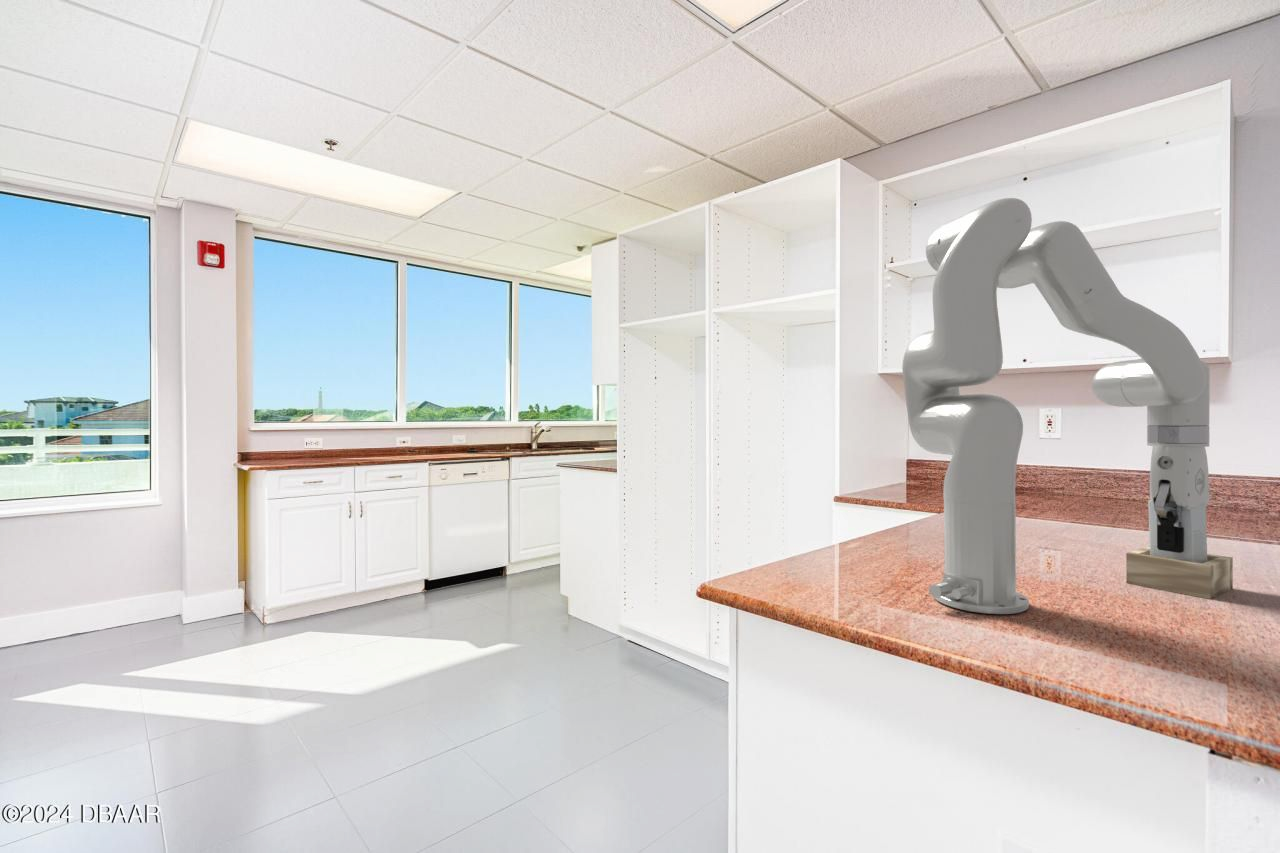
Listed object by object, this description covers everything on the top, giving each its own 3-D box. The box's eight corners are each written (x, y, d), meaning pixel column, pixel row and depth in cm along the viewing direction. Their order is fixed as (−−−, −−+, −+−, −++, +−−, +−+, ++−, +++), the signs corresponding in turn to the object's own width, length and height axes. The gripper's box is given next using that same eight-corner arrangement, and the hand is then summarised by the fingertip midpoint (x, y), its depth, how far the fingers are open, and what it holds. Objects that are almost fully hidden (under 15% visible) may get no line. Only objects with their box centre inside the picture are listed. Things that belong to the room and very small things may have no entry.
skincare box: (1209, 578, 95) (1209, 502, 95) (1191, 581, 94) (1192, 503, 94) (1163, 569, 101) (1164, 497, 101) (1146, 571, 100) (1147, 498, 99)
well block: (1210, 599, 91) (1210, 566, 91) (1126, 582, 100) (1126, 553, 100) (1232, 588, 95) (1232, 557, 95) (1150, 574, 105) (1150, 545, 104)
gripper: (1186, 439, 90) (1186, 560, 90) (1227, 435, 98) (1227, 546, 99) (1126, 438, 96) (1126, 551, 96) (1169, 435, 105) (1169, 538, 105)
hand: (1177, 547), depth 97 cm, fingers closed on skincare box, 4 cm apart
